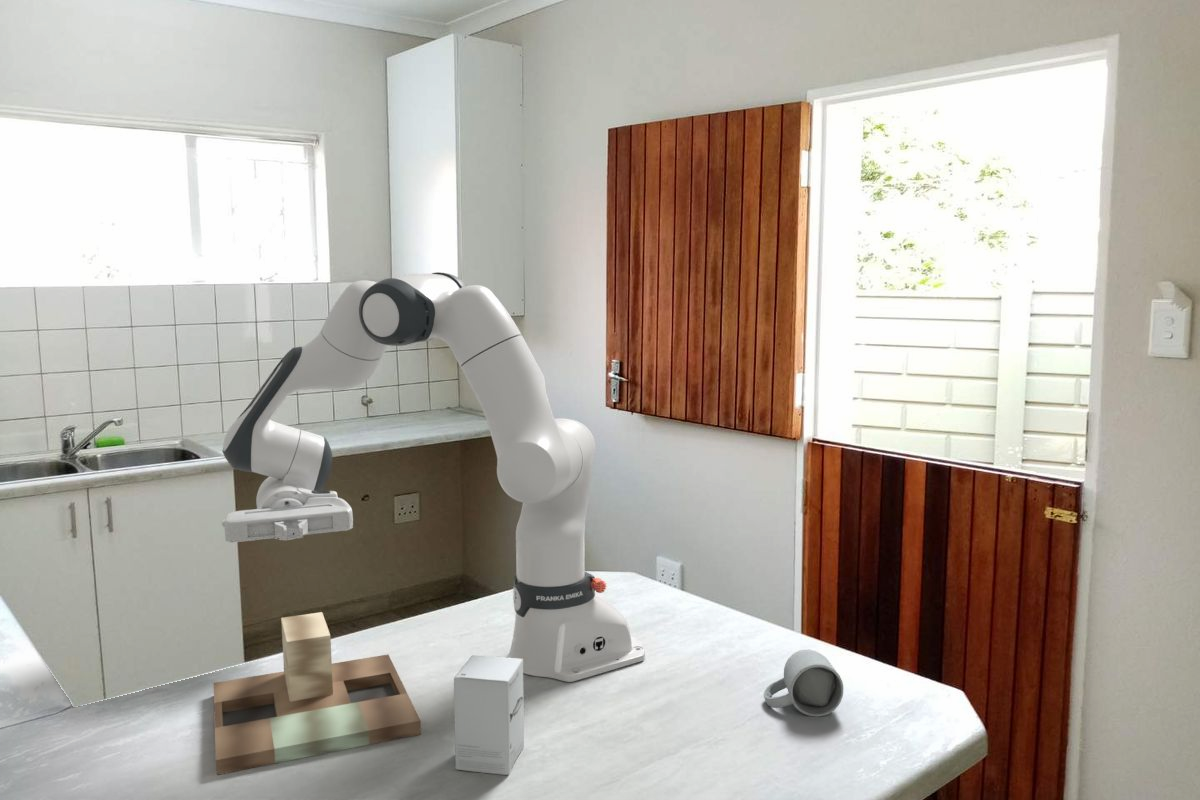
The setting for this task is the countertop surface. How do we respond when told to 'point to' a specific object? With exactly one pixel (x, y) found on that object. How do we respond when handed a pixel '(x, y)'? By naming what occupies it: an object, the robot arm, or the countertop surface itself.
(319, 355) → the robot arm
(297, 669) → the birch block
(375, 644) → the countertop surface
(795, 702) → the ceramic mug
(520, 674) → the supplement box
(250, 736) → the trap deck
